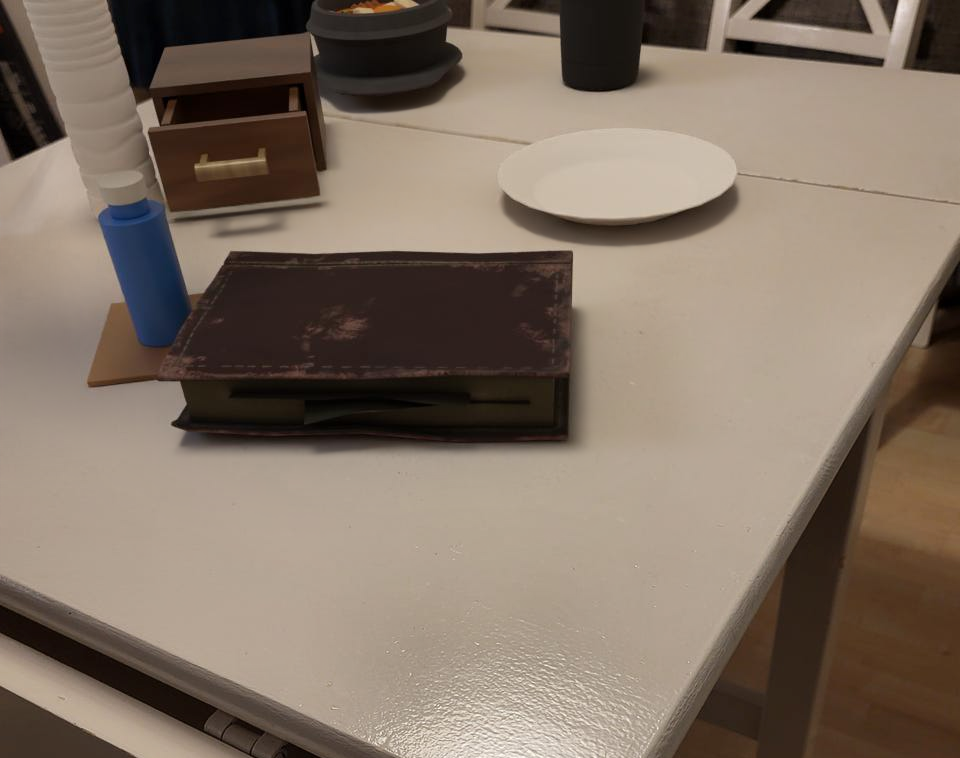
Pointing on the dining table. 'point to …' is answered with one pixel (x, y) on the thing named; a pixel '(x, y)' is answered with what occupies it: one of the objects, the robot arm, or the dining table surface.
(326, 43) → the casserole
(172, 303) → the bottle
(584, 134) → the plate
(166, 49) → the cabinet
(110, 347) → the mat
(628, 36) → the pen holder
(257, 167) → the drawer
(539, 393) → the diary
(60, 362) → the dining table surface
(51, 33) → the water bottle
